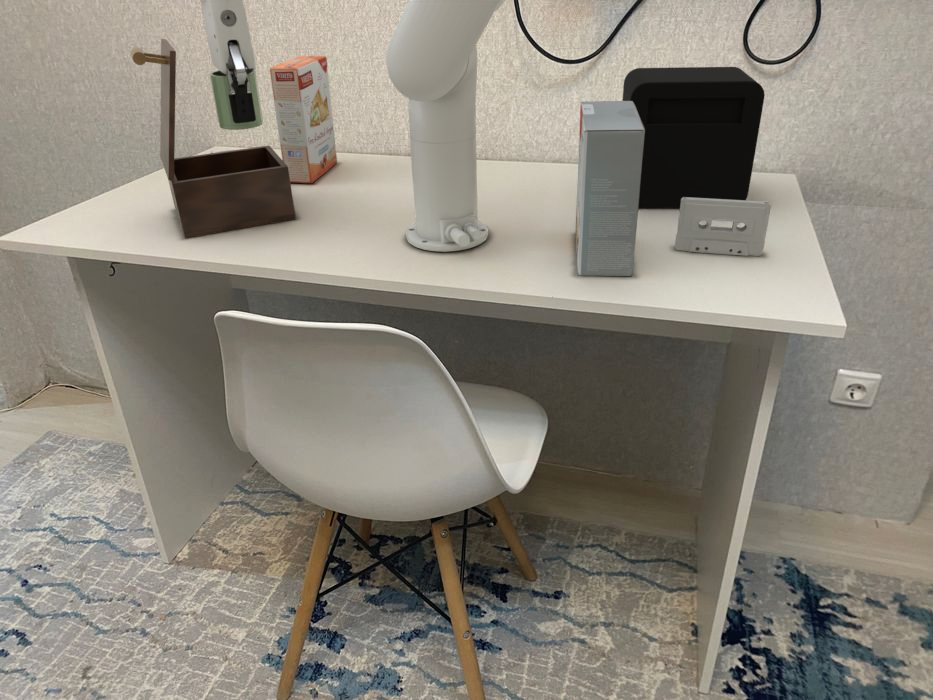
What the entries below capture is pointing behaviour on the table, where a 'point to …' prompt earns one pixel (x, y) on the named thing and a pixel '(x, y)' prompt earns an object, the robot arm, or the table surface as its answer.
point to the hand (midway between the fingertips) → (240, 115)
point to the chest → (231, 191)
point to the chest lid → (164, 99)
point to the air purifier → (695, 132)
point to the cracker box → (304, 117)
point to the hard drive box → (608, 187)
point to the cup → (223, 102)
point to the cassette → (722, 238)
